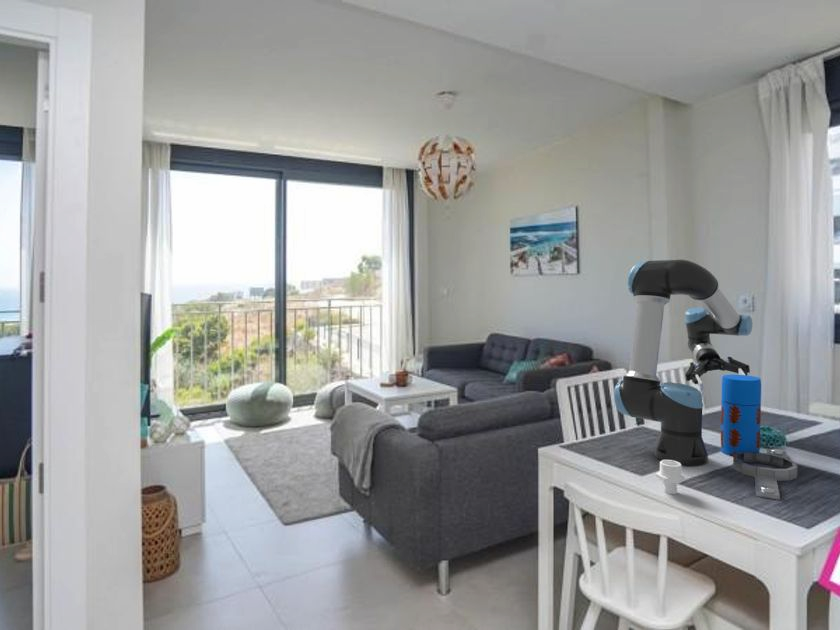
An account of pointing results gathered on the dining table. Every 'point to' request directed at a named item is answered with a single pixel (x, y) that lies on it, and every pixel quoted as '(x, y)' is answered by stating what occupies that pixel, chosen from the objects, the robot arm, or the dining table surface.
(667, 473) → the pipe fitting
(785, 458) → the grey handled tray
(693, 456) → the robot arm
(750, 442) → the thermos
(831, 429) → the dining table surface
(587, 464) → the dining table surface
